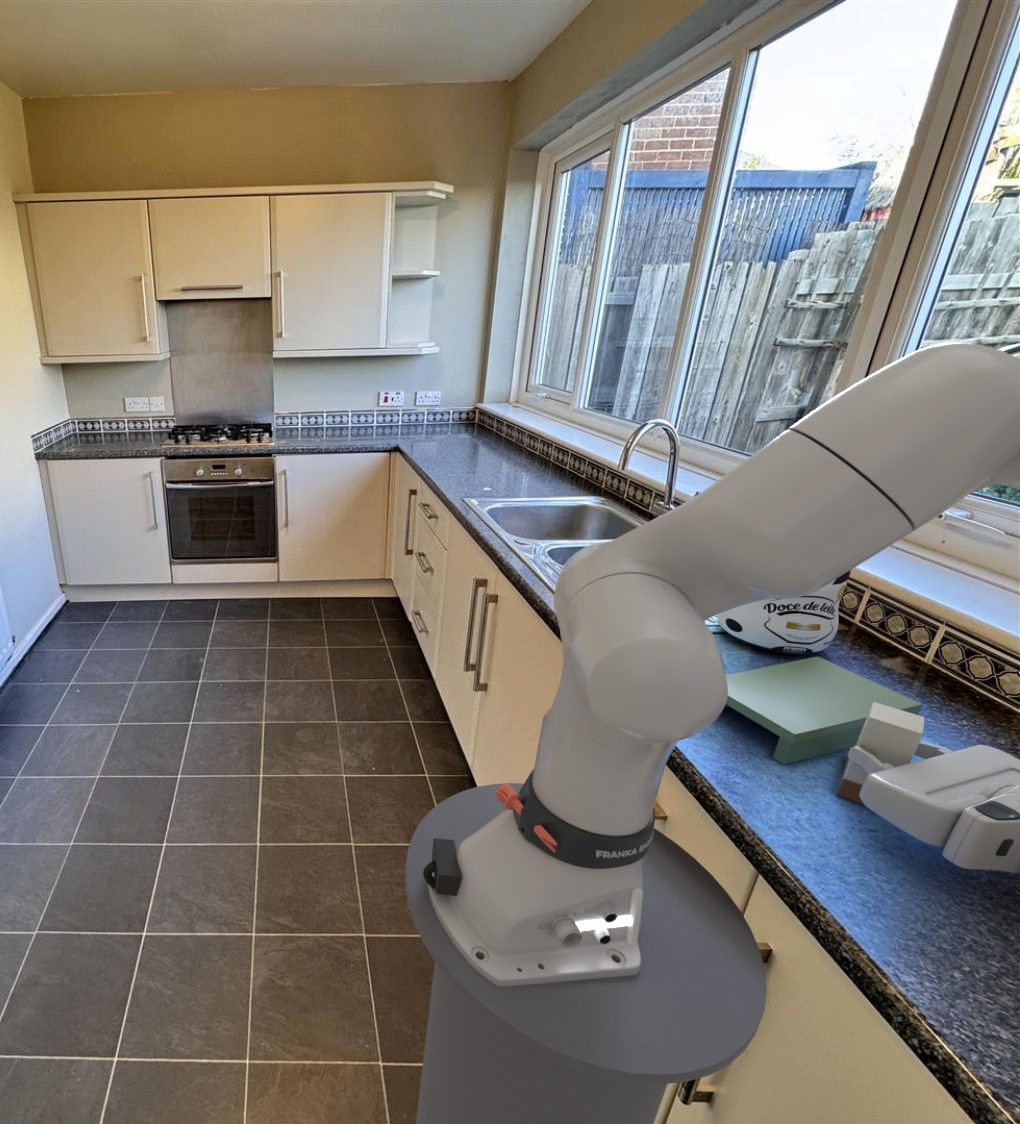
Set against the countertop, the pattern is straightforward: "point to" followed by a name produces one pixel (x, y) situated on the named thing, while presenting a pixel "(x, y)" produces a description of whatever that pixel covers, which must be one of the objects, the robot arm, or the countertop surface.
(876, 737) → the grey-brown block
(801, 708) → the shoe shelf
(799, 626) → the doce de leite container
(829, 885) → the countertop surface
